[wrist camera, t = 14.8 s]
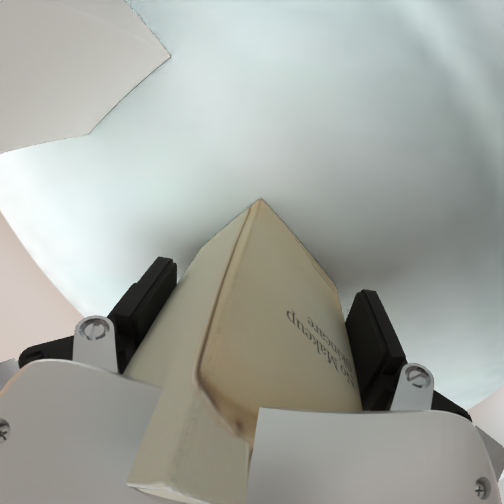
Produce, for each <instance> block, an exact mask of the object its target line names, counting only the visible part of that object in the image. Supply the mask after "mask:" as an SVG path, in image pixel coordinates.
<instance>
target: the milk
mask: <svg viewBox="0 0 504 504" xmlns="http://www.w3.org/2000/svg"><path fill="white" fill-rule="evenodd" d="M170 56H171V55H170V54H169V52H168V51H167V50H166V49H165V47H164V46H163V45H162V44H161V43H160V41H159V40H158V39H157V38H156V36H155V35H154V34H153V33H152V32H151V30H150V29H149V28H148V27H147V26H146V25H145V23H144V22H143V21H142V20H141V19H140V17H139V16H138V15H137V14H136V13H135V12H134V11H133V9H132V8H131V7H130V6H129V5H128V4H127V3H126V1H125V0H0V154H1V153H5V152H8V151H12V150H16V149H20V148H24V147H28V146H32V145H37V144H41V143H46V142H51V141H56V140H61V139H66V138H72V137H78V136H84V135H88V134H89V133H90V132H91V131H92V130H93V129H94V127H95V126H96V125H97V124H98V123H99V122H100V121H101V120H102V119H103V118H104V117H105V116H106V115H107V114H108V113H109V112H110V110H111V109H112V108H113V107H114V106H115V105H116V104H117V103H118V102H120V101H121V100H122V99H123V98H124V97H125V96H126V95H127V94H128V93H129V92H130V91H131V90H132V89H133V88H134V87H135V86H136V85H138V84H139V83H140V82H141V81H142V80H143V79H144V78H146V77H147V76H148V75H149V74H150V73H151V72H153V71H154V70H155V69H156V68H157V67H159V66H160V65H161V64H162V63H163V62H165V61H166V60H167V59H168V58H170Z"/></svg>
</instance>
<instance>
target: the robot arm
mask: <svg viewBox="0 0 504 504" xmlns="http://www.w3.org/2000/svg"><path fill="white" fill-rule="evenodd" d="M176 285H177V264H176V263H173V260H172V259H170V258H164V257H158V258H157V259H156V260H155V261H154V263H153V264H152V265H151V266H150V268H149V269H148V270H147V271H146V272H145V274H144V275H143V276H142V277H141V279H140V280H139V281H138V282H137V283H134V284H133V285H132V286H131V287H130V288H129V289H128V291H127V292H126V293H125V294H124V296H123V297H122V298H121V299H120V301H119V302H118V303H117V304H116V306H115V307H114V308H113V310H112V311H111V312H110V314H109V315H108V316H107V317H103V316H89V317H86V318H84V319H82V320H81V321H80V322H79V323H78V324H77V325H76V328H75V334H74V336H70V337H66V338H62V339H58V340H54V341H50V342H47V343H43V344H39V345H35V346H32V347H29V348H27V349H26V350H24V351H23V352H22V354H21V355H20V357H19V360H18V361H15V359H14V358H13V359H10V360H7V361H4V362H1V363H0V504H192V503H186V502H180V501H175V500H171V499H167V498H163V497H160V496H156V495H153V494H149V493H146V492H143V491H141V490H139V489H137V488H134V487H130V486H128V485H127V484H126V482H127V478H128V475H129V472H130V470H131V467H132V465H133V462H134V459H135V457H136V454H137V452H138V449H139V447H140V444H141V442H142V440H143V437H144V435H145V432H146V430H147V427H148V425H149V422H150V420H151V417H152V415H153V412H154V410H155V408H156V405H157V403H158V400H159V398H160V395H161V393H162V390H163V389H162V388H161V387H159V386H158V385H156V384H154V383H151V382H147V381H143V380H140V379H136V378H132V377H129V376H126V375H122V374H123V373H124V371H125V369H126V367H127V366H128V364H129V362H130V360H131V359H132V357H133V355H134V354H135V352H136V350H137V349H138V347H139V345H140V344H141V342H142V341H143V339H144V337H145V336H146V334H147V332H148V330H149V329H150V327H151V325H152V324H153V322H154V320H155V319H156V317H157V316H158V314H159V312H160V311H161V309H162V308H163V306H164V304H165V303H166V301H167V300H168V298H169V297H170V295H171V293H172V292H173V290H174V289H175V287H176ZM345 326H346V330H347V334H348V338H349V343H350V348H351V352H352V357H353V362H354V367H355V371H356V376H357V382H358V387H359V392H360V398H361V404H362V410H363V411H335V410H314V409H300V408H288V407H259V414H258V420H257V426H256V433H255V439H254V446H253V453H252V459H251V466H250V473H249V480H248V487H247V493H246V500H245V504H502V503H501V498H500V493H499V489H498V485H497V483H498V481H499V478H500V476H501V474H502V471H503V469H504V448H503V446H502V445H500V444H499V443H498V442H496V441H495V440H494V439H493V438H491V437H490V436H489V435H487V434H486V433H485V432H484V431H482V430H481V429H480V428H479V427H477V426H474V425H473V424H472V420H471V417H470V415H469V414H468V412H466V411H465V410H464V409H463V408H461V407H460V406H458V405H456V404H455V403H453V402H452V401H450V400H449V399H447V398H446V397H444V396H443V395H441V394H440V393H438V392H436V391H435V390H433V389H434V378H433V375H432V374H431V372H430V371H429V370H428V369H427V368H426V367H424V366H422V365H420V364H417V363H409V364H408V363H407V361H406V356H405V354H404V351H403V349H402V347H401V344H400V342H399V340H398V337H397V335H396V333H395V331H394V329H393V326H392V324H391V322H390V320H389V318H388V316H387V313H386V311H385V309H384V307H383V305H382V303H381V301H380V299H379V297H378V295H377V293H376V291H371V290H364V289H363V290H362V291H361V292H358V293H357V294H356V296H355V299H354V302H353V304H352V307H351V309H350V312H349V315H348V317H347V320H346V322H345Z"/></svg>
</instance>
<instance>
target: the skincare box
mask: <svg viewBox="0 0 504 504" xmlns="http://www.w3.org/2000/svg"><path fill="white" fill-rule="evenodd" d="M122 375H126V376H129V377H132V378H136V379H140V380H143V381H147V382H151V383H154V384H156V385H158V386H159V387H161V388H162V389H163V390H162V393H161V395H160V398H159V400H158V403H157V405H156V408H155V410H154V412H153V415H152V417H151V420H150V422H149V425H148V427H147V430H146V432H145V435H144V437H143V440H142V442H141V444H140V447H139V449H138V452H137V454H136V457H135V459H134V462H133V465H132V467H131V470H130V472H129V475H128V478H127V482H126V484H127V485H128V486H130V487H134V488H137V489H139V490H141V491H143V492H146V493H149V494H153V495H156V496H160V497H163V498H167V499H171V500H175V501H180V502H186V503H192V504H245V500H246V493H247V487H248V480H249V473H250V466H251V459H252V453H253V446H254V439H255V433H256V426H257V420H258V414H259V407H288V408H300V409H314V410H335V411H363V410H362V404H361V398H360V392H359V387H358V382H357V376H356V371H355V367H354V362H353V357H352V352H351V348H350V343H349V338H348V334H347V330H346V326H345V321H344V317H343V313H342V309H341V305H340V301H339V297H338V293H337V289H336V286H335V284H334V283H333V282H332V280H331V279H330V278H329V277H328V275H327V274H326V273H325V272H324V270H323V269H322V268H321V266H320V265H319V264H318V263H317V262H316V260H315V259H314V258H313V257H312V255H311V254H310V253H309V252H308V251H307V249H306V248H305V247H304V246H303V245H302V243H301V242H300V241H299V240H298V239H297V238H296V236H295V235H294V234H293V233H292V232H291V231H290V229H289V228H288V227H287V226H286V225H285V224H284V223H283V221H282V220H281V219H280V218H279V217H278V216H277V215H276V214H275V212H274V211H273V210H272V209H271V208H270V207H269V206H268V205H267V204H266V203H265V201H264V200H262V199H259V200H257V201H256V202H255V203H254V204H252V205H251V206H250V207H249V208H247V209H246V210H245V211H243V212H242V213H241V214H240V215H238V216H237V217H236V218H235V219H234V220H232V221H231V222H230V223H229V224H228V225H226V226H225V227H224V228H223V229H222V230H221V231H219V232H218V233H217V234H216V235H215V236H214V237H212V238H211V239H210V240H209V241H208V242H207V243H206V244H205V245H204V246H202V247H201V248H200V250H199V252H198V253H197V255H196V256H195V258H194V259H193V261H192V262H191V264H190V265H189V267H188V268H187V270H186V271H185V273H184V274H183V276H182V277H181V279H180V281H179V282H178V284H177V285H176V287H175V289H174V290H173V292H172V293H171V295H170V297H169V298H168V300H167V301H166V303H165V304H164V306H163V308H162V309H161V311H160V312H159V314H158V316H157V317H156V319H155V320H154V322H153V324H152V325H151V327H150V329H149V330H148V332H147V334H146V336H145V337H144V339H143V341H142V342H141V344H140V345H139V347H138V349H137V350H136V352H135V354H134V355H133V357H132V359H131V360H130V362H129V364H128V366H127V367H126V369H125V371H124V373H123V374H122Z"/></svg>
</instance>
